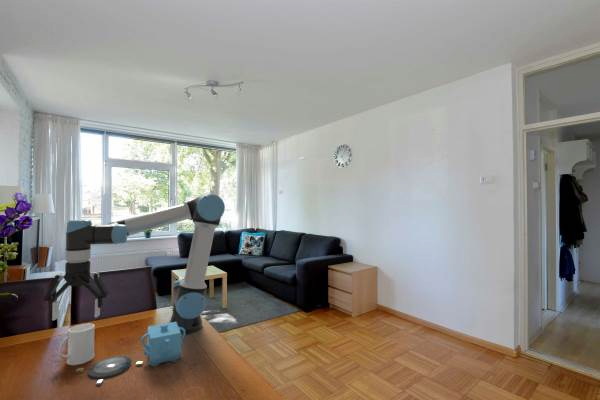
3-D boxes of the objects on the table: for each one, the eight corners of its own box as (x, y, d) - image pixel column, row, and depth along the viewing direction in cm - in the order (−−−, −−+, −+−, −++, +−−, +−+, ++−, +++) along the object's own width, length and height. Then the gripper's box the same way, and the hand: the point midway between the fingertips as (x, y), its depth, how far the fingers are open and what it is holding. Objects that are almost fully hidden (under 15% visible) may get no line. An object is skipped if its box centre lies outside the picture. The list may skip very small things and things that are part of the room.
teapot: (139, 356, 115) (140, 323, 115) (182, 346, 123) (183, 315, 123) (142, 380, 99) (142, 342, 99) (190, 368, 107) (191, 332, 107)
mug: (63, 372, 103) (64, 337, 103) (51, 365, 107) (52, 332, 107) (99, 356, 114) (100, 325, 114) (87, 351, 118) (87, 321, 118)
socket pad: (146, 355, 115) (146, 352, 115) (134, 380, 99) (134, 377, 99) (84, 362, 110) (85, 359, 110) (60, 390, 93) (60, 386, 93)
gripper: (118, 258, 118) (117, 311, 117) (44, 260, 111) (43, 316, 111) (111, 261, 110) (110, 318, 110) (32, 264, 104) (30, 324, 104)
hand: (76, 317), depth 111 cm, fingers open, 13 cm apart
